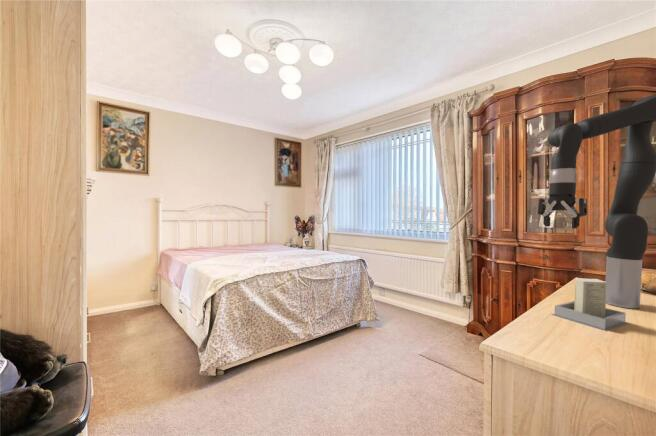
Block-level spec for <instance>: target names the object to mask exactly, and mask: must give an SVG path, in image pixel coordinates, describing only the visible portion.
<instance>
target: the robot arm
mask: <svg viewBox="0 0 656 436" xmlns="http://www.w3.org/2000/svg"><path fill="white" fill-rule="evenodd" d="M654 122H656V93H655V94H651V95H648V96H645V97H642V98H640V99H638V100H636V101H635V102H634V103H633V104H632V105H631V106H628V107H625V108H621V109H617V110H613V111H612V110H611V111H609V112H605V113H601V114H598V115H594V116H591V117H588V118H585V119H583V120H581V121H577V122H573V123H572V122H571V123H567V124H564V125H561V126H559V127H556V128H554V129H552V130H551V131H550V132H549V133H548V136H547V137H546V138H547V139H546V140H547V143H548V144H549V145H550V146H551V147H554V148H558V150H557V152H555V153H554V154H553V155H552V157H551V160H550V161H551V162H550V174H549V184H548V186H549V187H548V196H549V197H548V199H547V198H539V199H538V209H537V214H538V215H540V216H542V219H543V225H544V227H547V228H548V227H550V226H551V216H552V214H553V213H554V212H556V211H566V212H568V213H569V214H571V216H572V217H571V228H572V229H578V227H580V222H581V221H580V220H581V217H585V216H588V199H587V198H586V197H580V198H576V195H577V193H576V192H577V181H578V177H577V169H576V168H577V156H578V153H579V151H580V148H581V145H582V142H583V141H584V140H587V139H593V138H596V137H600V136H602V135H606V134H608V133H611V132H614V131H617V130H621V129H623V128H627V133H626V140H625V144H624V149H623V154H622V158H621V162H620V166H619V171H618V176H617V181H616V183H615V184H616V185H615V191H614V195H613V199H612V203H611V206H610V208H609V211H608V213H607V216H606V219H605V222H604V230H605V231H606V233H607V234H608V235H609V236H611V237H612V240H611V241H612V242H611V246H609V248H607V249H606V250H607V251H606V261H605V263H606V267H605V280H604V282H607V285H606V304H608V305H610V306H615V307H619V308H625V309H640V308H641V292H642V275H643V272H642V271H643V259H644V258H643V257H644V254H645V253H646V250H647V245H648V237H649V225H648V223H647V220H646V219H645V218H643V217H642V216H641V215H638V214H637V213H638V210H639V209H638V208H639V205H640V202H641V199H642V198H643V196H644V195H645V193H646V192H647V191H648V189H649V188H650V187H651V185H652V183H653V181H654V179H655V177H656V149H655V147H654V146H653V144H652V141H651V132H652V127H653V124H654ZM576 203H577V205H578V209H577V208H576V207H575V204H576ZM547 204H548V205H549V206H548V207H547V208H546V206H547Z"/></svg>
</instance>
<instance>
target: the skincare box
mask: <svg viewBox="0 0 656 436" xmlns="http://www.w3.org/2000/svg"><path fill="white" fill-rule="evenodd" d="M574 282H575V283H574V301H575V304H574V310H575V311H579V312H583V313H586V314H590V315H594V316H598V317H601V318H605V308H607V307H606V304H607V303H606V285H607V282H605V280H604V281H603V280H601V279H598V278H580V277H575V281H574Z"/></svg>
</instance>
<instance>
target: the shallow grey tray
mask: <svg viewBox="0 0 656 436" xmlns="http://www.w3.org/2000/svg"><path fill="white" fill-rule="evenodd" d="M574 304H575V300H573V301H568V302H565V303H560V304H556V305H554V313H553V314H554V315H556V316H555V317H557V316H560V317H563V318H562V319H564V318H567V319H570V320H573V321H572V322H574V321H577V322H580V323H583V324H582V325H584V324H587V325H590V326H593V327H592V328H594V327H597V328H600V329H603V330H602V331H604V330H606V329H609V328H612V327H614V326H617V325H620V324H623V323H625V322H626V316H627V315H626V314H627V313H626V312H624V311H619V310H616V309H613V308H608V307H606V308H605V318H601V317H598V316H594V315H590V314H586V313H583V312H579V311H575V310H574ZM554 315H553V316H554ZM560 317H559V318H560ZM567 319H566V320H567ZM570 320H569V321H570ZM577 322H576V323H577ZM580 323H579V324H580ZM587 325H586V326H587ZM590 326H589V327H590ZM597 328H596V329H597ZM600 329H599V330H600Z"/></svg>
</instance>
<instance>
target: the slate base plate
mask: <svg viewBox="0 0 656 436" xmlns="http://www.w3.org/2000/svg"><path fill="white" fill-rule="evenodd" d="M554 314H555V313H551V314H550V316H555V317H558V318H561V319H564V320H568V321H570V322H574V323H578V324H580V325H583V326H587V327H591V328H594V329H597V330H601V331H604V332H610V331H612V330H615V329H619V328H621V327H623V326H626V325H628V324H630V322H626V321H625V323H623V324H620V325H617V326H614V327H612V328H609V329H606V330H603V329H600V328H597V327H593V326H590V325H587V324H583V323H580V322H577V321H573V320H570V319H567V318H563V317H560V316H556V315H554Z"/></svg>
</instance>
